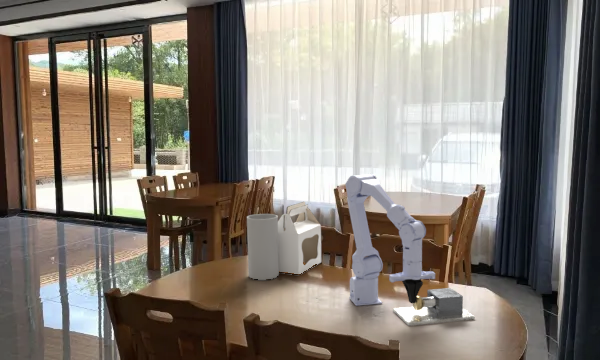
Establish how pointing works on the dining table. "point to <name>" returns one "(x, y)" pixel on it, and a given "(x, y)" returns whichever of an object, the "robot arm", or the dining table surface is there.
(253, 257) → the cylinder vase
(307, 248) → the gable box
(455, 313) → the bearing block
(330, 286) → the dining table surface
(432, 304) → the shaft
